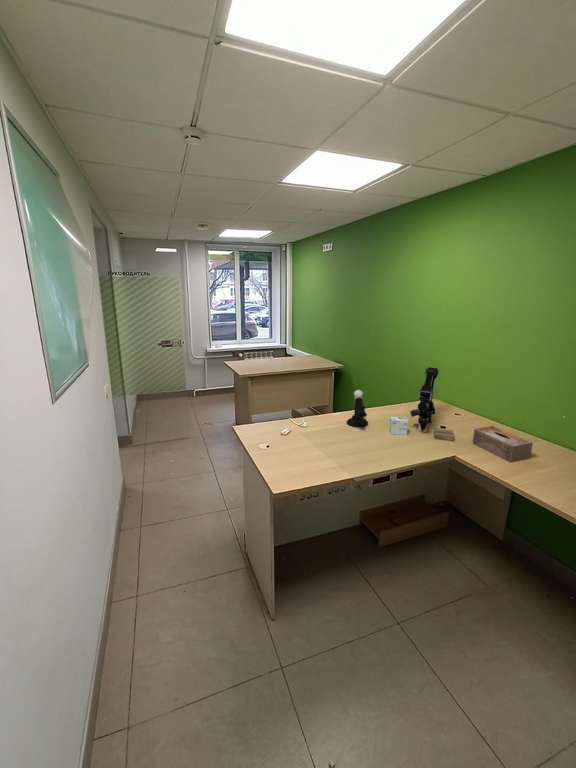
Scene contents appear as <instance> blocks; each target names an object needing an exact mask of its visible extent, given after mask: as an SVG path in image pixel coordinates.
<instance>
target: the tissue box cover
mask: <svg viewBox="0 0 576 768" xmlns="http://www.w3.org/2000/svg"><path fill="white" fill-rule="evenodd" d="M533 444H534V443H533V442H532V441H530V440H527V439H526V438H525V439H524V438H523V437H521V436H518V435H516V434H513V433H511V432H509V431H506V430H503V429H501V428H498V427H496V426H494V425H490V426H484V427H478V428H474V430H473V437H472V445H475V446H477V447H479V448H480V449H482V450H484V451H486V452H488V453H491V454H492V455H493V456H496V457H499V458H500V459H502V460H504V461H506V462H508V463H515V462H521V461H524V460H529V459H531V454H532V451H533V449H532V448H533Z"/></svg>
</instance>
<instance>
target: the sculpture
mask: <svg viewBox="0 0 576 768" xmlns="http://www.w3.org/2000/svg"><path fill="white" fill-rule="evenodd" d="M353 395H354V399H353V402H354V404H353V405H354V411H353V415H352V416H351V417H350V418H348V419H347V420H346V425H348V426H349V427H351V426H352V427H353V428H366V427H367V426H368V425H369V421H368V420H367V419H366V418H365V417H367V416H368V414H367V412H366V410H365V409H366V406H365V405H364V402H363V399H364V398H363V396H364V392H363V391H362V390H360V389H357V390H355V391H354V392H353Z"/></svg>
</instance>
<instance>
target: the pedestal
mask: <svg viewBox="0 0 576 768" xmlns="http://www.w3.org/2000/svg"><path fill="white" fill-rule="evenodd" d="M433 429H434V431H433V436H434V437H433V438H434V439H433V440H441V441H447V442H454V439H455V436H454V430H453V429H452V430H451V429H445V428H433Z"/></svg>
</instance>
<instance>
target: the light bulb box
mask: <svg viewBox="0 0 576 768" xmlns="http://www.w3.org/2000/svg"><path fill="white" fill-rule="evenodd" d="M389 418H390V419H389V420H390V421H389V434H390V435H392V436H407V435H408V429H409V427H408V426H409V419H408V418H407V416H390V417H389Z"/></svg>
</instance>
